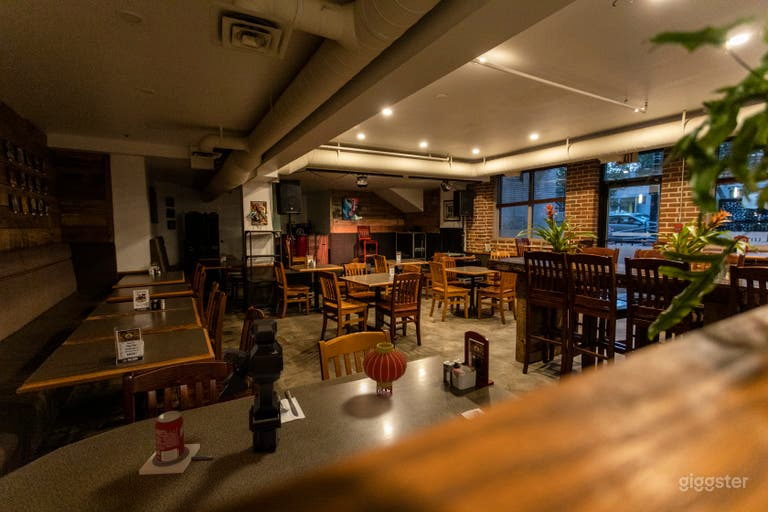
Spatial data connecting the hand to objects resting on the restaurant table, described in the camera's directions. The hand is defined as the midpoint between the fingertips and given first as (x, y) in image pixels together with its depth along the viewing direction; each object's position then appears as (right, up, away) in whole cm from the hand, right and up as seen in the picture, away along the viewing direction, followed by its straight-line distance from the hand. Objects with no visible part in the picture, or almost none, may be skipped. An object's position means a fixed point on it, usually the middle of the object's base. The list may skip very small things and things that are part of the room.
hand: (221, 392), depth 114 cm
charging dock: (-6, -15, -12) cm, 20 cm away
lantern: (+51, -12, +29) cm, 60 cm away
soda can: (-8, -13, -13) cm, 20 cm away
